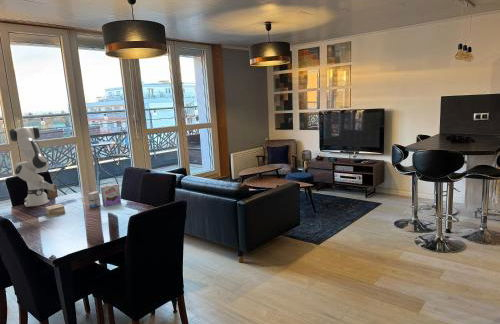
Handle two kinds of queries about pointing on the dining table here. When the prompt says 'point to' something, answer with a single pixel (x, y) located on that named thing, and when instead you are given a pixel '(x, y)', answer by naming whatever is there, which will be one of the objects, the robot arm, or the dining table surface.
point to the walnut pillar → (51, 193)
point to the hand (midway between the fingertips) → (53, 190)
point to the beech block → (55, 210)
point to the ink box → (94, 199)
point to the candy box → (110, 195)
